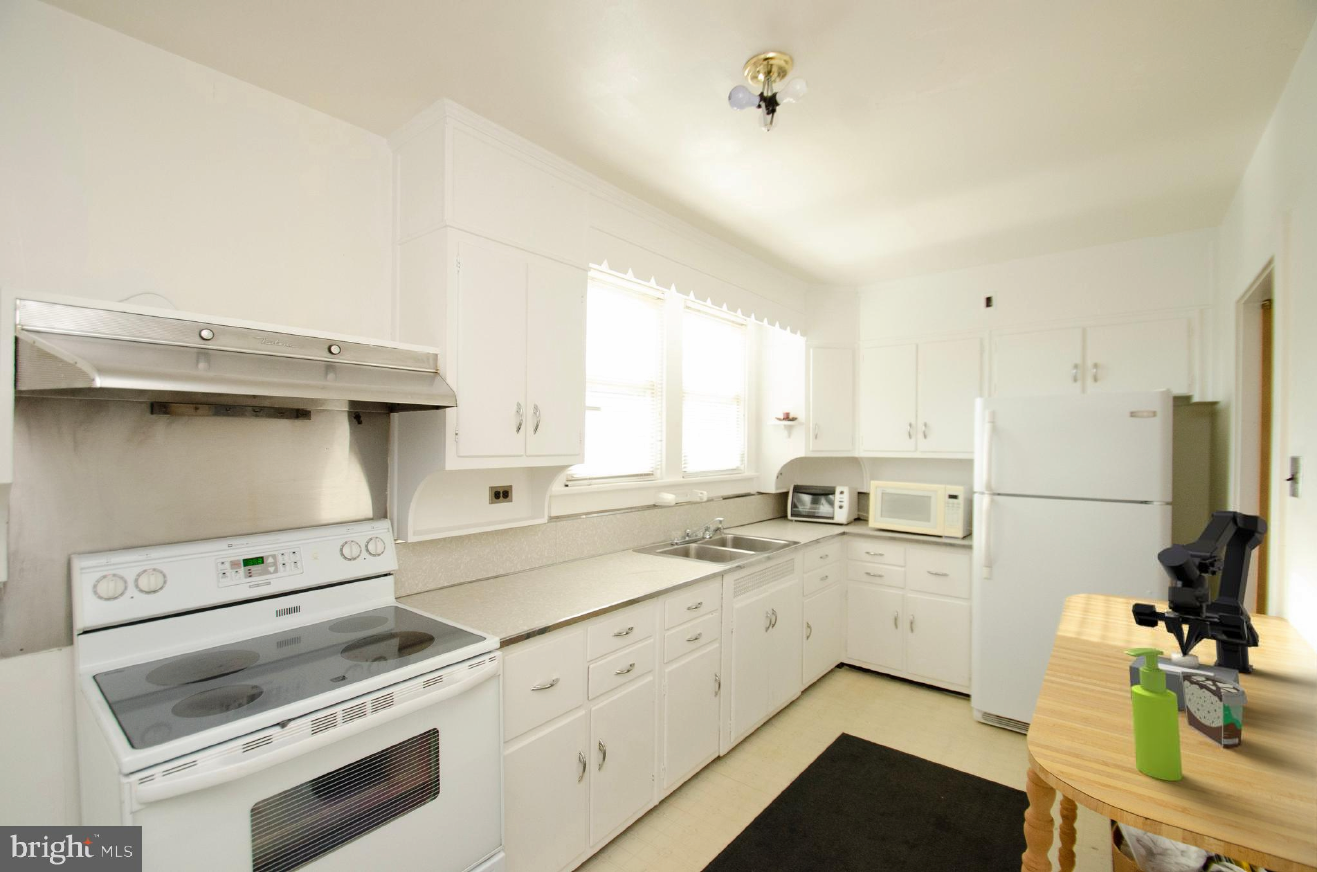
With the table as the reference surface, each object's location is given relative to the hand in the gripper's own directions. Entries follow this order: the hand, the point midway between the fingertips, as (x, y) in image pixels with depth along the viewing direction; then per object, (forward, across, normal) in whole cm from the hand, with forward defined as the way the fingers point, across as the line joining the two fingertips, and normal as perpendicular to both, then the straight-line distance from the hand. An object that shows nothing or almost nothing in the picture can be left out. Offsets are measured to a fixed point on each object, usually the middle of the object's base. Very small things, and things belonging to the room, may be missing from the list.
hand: (1184, 653), depth 129 cm
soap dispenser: (+38, +2, -23) cm, 44 cm away
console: (+8, 0, +5) cm, 10 cm away
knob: (+4, 0, +5) cm, 6 cm away
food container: (+20, +8, -6) cm, 22 cm away
